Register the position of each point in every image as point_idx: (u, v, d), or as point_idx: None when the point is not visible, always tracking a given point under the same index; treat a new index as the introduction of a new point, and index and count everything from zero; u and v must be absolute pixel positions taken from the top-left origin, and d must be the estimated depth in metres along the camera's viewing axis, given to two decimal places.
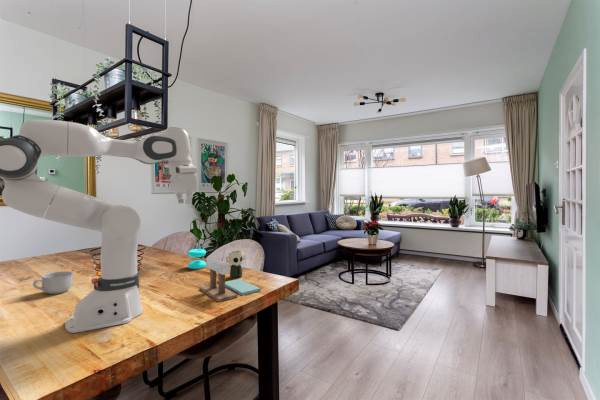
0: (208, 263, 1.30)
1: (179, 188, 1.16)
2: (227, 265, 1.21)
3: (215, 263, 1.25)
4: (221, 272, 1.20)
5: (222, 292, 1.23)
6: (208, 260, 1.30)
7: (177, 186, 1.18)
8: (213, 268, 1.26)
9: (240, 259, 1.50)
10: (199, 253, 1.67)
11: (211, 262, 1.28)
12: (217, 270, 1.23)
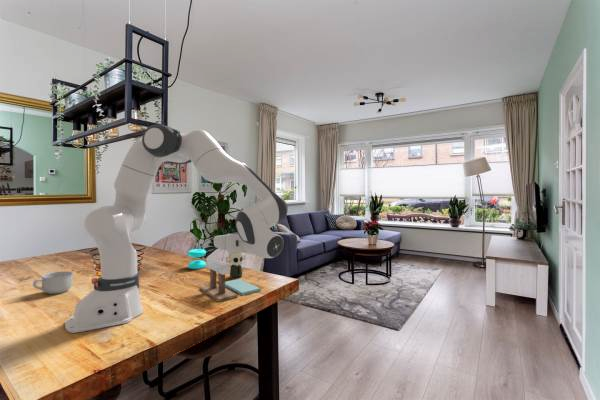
0: (208, 263, 1.30)
1: None
2: (227, 265, 1.21)
3: (215, 263, 1.25)
4: (221, 272, 1.20)
5: (222, 292, 1.23)
6: (208, 260, 1.30)
7: None
8: (213, 268, 1.26)
9: (240, 259, 1.50)
10: (199, 253, 1.67)
11: (211, 262, 1.28)
12: (217, 270, 1.23)
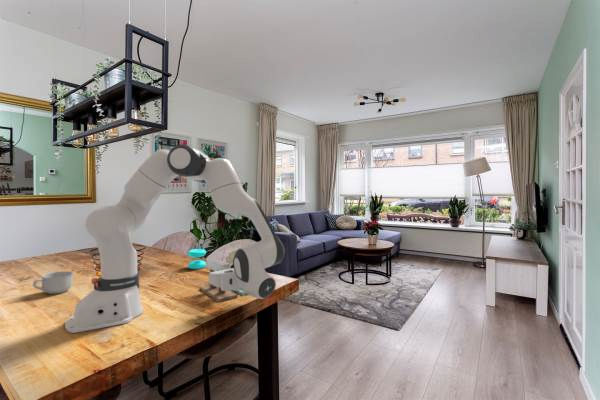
0: (208, 263, 1.30)
1: (232, 269, 1.14)
2: (227, 265, 1.21)
3: (215, 263, 1.25)
4: None
5: (222, 292, 1.23)
6: (208, 260, 1.30)
7: None
8: (213, 268, 1.26)
9: None
10: (199, 253, 1.67)
11: (211, 262, 1.28)
12: None
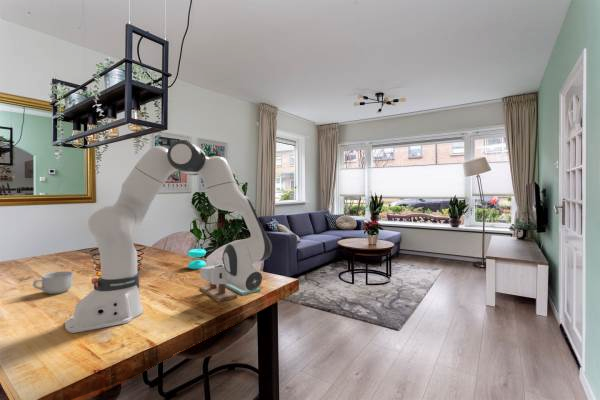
0: (208, 263, 1.30)
1: None
2: None
3: (215, 263, 1.25)
4: None
5: (222, 292, 1.23)
6: (208, 260, 1.30)
7: None
8: None
9: None
10: (199, 253, 1.67)
11: (211, 262, 1.28)
12: None
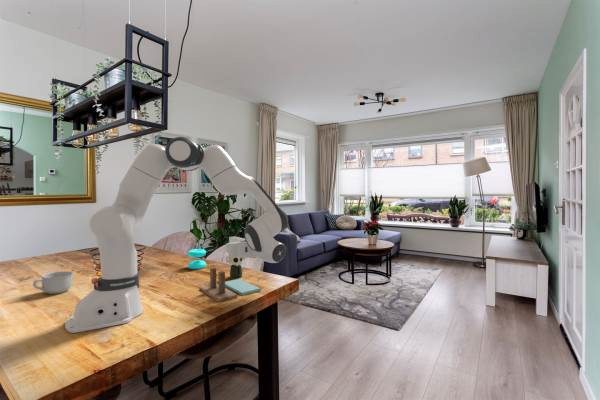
0: (231, 241, 1.37)
1: None
2: None
3: (238, 240, 1.31)
4: None
5: (222, 292, 1.23)
6: (231, 238, 1.37)
7: None
8: None
9: (240, 259, 1.50)
10: (199, 253, 1.67)
11: (234, 240, 1.35)
12: None
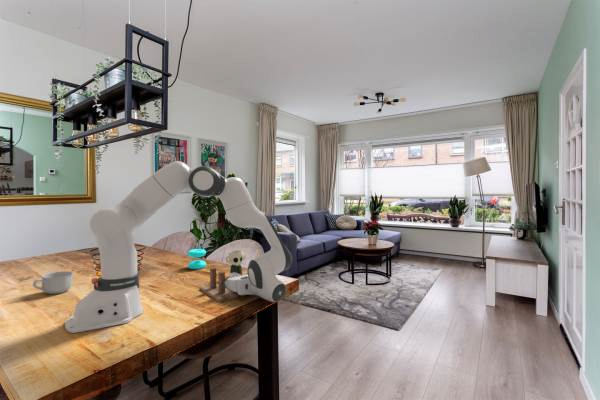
0: None
1: (246, 275, 1.28)
2: None
3: None
4: None
5: (222, 292, 1.23)
6: (231, 275, 1.37)
7: None
8: None
9: (240, 259, 1.50)
10: (199, 253, 1.67)
11: None
12: None
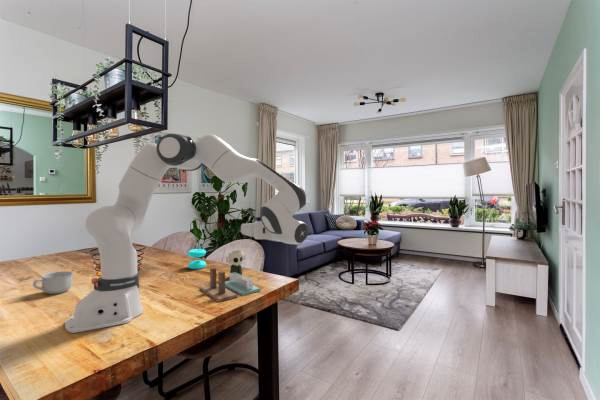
0: (231, 278, 1.37)
1: None
2: (251, 281, 1.28)
3: (239, 279, 1.32)
4: (245, 288, 1.28)
5: (222, 292, 1.23)
6: (231, 275, 1.37)
7: None
8: (237, 283, 1.34)
9: (240, 259, 1.50)
10: (199, 253, 1.67)
11: (234, 277, 1.35)
12: (241, 285, 1.30)
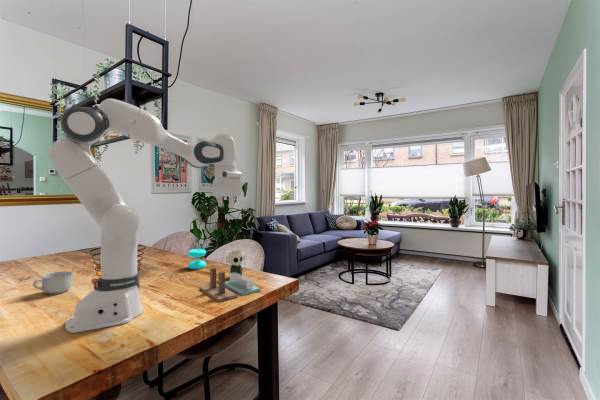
0: (231, 278, 1.37)
1: (222, 192, 1.22)
2: (251, 281, 1.28)
3: (239, 279, 1.32)
4: (245, 288, 1.28)
5: (222, 292, 1.23)
6: (231, 275, 1.37)
7: (220, 190, 1.23)
8: (237, 283, 1.34)
9: (240, 259, 1.50)
10: (199, 253, 1.67)
11: (234, 277, 1.35)
12: (241, 285, 1.30)
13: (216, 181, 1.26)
